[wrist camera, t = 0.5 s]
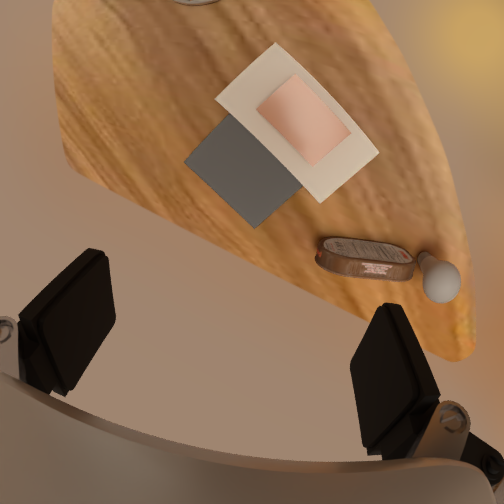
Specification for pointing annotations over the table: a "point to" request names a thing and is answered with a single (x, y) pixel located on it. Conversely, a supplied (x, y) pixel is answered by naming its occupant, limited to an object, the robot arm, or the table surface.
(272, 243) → the table surface
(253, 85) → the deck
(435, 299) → the lightbulb
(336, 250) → the tin
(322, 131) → the tile
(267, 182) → the mat
